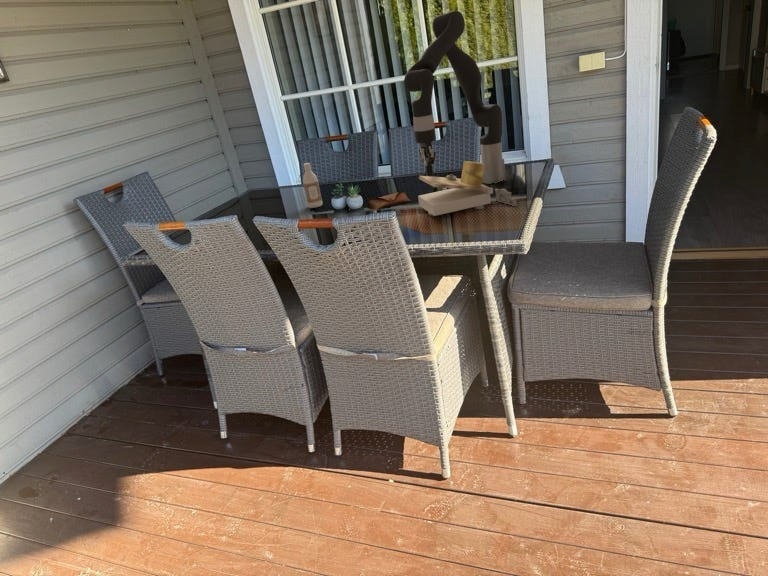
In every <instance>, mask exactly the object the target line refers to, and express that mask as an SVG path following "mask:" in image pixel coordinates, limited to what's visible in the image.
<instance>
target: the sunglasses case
mask: <svg viewBox="0 0 768 576" xmlns="http://www.w3.org/2000/svg"><path fill="white" fill-rule="evenodd" d="M409 201H410V202H412V200H411V199H410V198H409V197H408V196H407V195H406V193H405V191H402V190H401V191H398V192H396V193H391V194H387V195H383V196H380V197H374V198H370V199H368V201H367V206H368V208H369V209H372V210H374V211H378V210H382V209H385V207H386V208H390V207H393V205H394V206H398V205H400V204H401V203H402V204H405V203H404V202H406V203H410V202H409ZM397 204H398V205H397ZM381 208H382V209H381Z"/></svg>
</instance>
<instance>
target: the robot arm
mask: <svg viewBox="0 0 768 576" xmlns="http://www.w3.org/2000/svg"><path fill="white" fill-rule="evenodd" d="M431 25H432V26H431V27H432V31H433V34H434V36H435V40H433V41H432V43H430V44H428V46H427V47H426V49H424V51H423V52H422V55H421V56H420V57H419V59H418V60H417V62H415V63H414V64H413V65H412V66H411V67H409V69H408V70H407V72H406V73H405V75H404V79H403V85H404V88H405V89H406V90H407V92H410V93H416V92H420V97H418V98H415V99H413V100H412V101H411V108H412V117H413V119H412V123H413V132H414V139H415V141H414V142H416V144H420V145H419V146H420V148H419V149H418V153H419V156H420V158H421V161H422V164H423V165H424V166H425V167H424V169H425V174H426V175H425V176H431V177H432V176H433V175H434V172H433V165H435V160H436V151H434V147H433V142H435V141H436V139H437V137H436V129H435V119H434V115H433V107H432V106H433V105H432V99H433V91H434V84H435V77H434V74H435V73H436V71H437V69H438V67H439V66H440V63H441V62H442V60H443V59H444V57H445V56H446V58H447V60H448V62H449V64H450V66H451V68H452V70H453V72H454V75H455V76H456V79H457V82H458V84H459V86H460V87H461V88H460V89H462V93H463V95H464V96H465V99H466V101H467V104H468V107H469V110H470V113H471V115H472V119H473V121H474V123H475V124H476V125H477V126H478V127H480V128H487V130H488V131H487V133H486V134H485V135H484V134H483V135H482V136H480V138H479V146H480V147H479V148H480V163H483V164H485V166H484V172H483V178H482V184H484V185H489V184H490V185H491V184H492V183H494V184H499V183H501V182H500V181H502V182H504V181H506V167H505V165H506V164H505V159H504V158H503V149H502V136H503V113H502V109H501V106H500V105H499V104H497V103H493V104H484V102H483V100H482V98H481V94H480V90H481V87H482V81H483V80H482V74H481V70H480V69H479V66H478V64H477V62H476V61H475V59H474V58H473V57H472V56H470V55H469V54H468V53H466V52H465V51H464V50H462V48H460V47H459V46H458V45H457V44H456V42H457V41H458V39H459V38H461V36H462V35H463V33H464V31H465V27H466V22H465V18H464V16H463V14H462V12H461V11H459V10H452V11H449V12H446V13H441V14H439V15H437V16H435V17H434V18H433V20H432V24H431ZM503 180H504V181H503ZM498 182H499V183H498ZM492 185H493V184H492Z"/></svg>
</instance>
